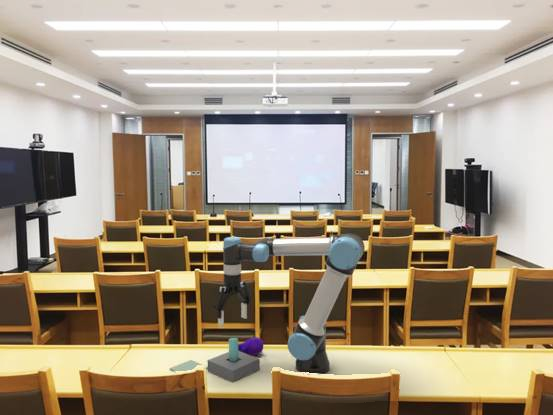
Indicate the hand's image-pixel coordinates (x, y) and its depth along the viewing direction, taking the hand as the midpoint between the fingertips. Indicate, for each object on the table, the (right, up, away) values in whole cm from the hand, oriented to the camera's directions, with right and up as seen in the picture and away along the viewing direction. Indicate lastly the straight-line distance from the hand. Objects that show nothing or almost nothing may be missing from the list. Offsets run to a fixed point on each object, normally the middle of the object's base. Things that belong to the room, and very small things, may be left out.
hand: (232, 321), depth 203 cm
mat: (-20, -22, +4) cm, 30 cm away
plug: (0, -22, +2) cm, 22 cm away
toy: (+5, -21, +19) cm, 29 cm away
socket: (0, -22, +2) cm, 22 cm away
